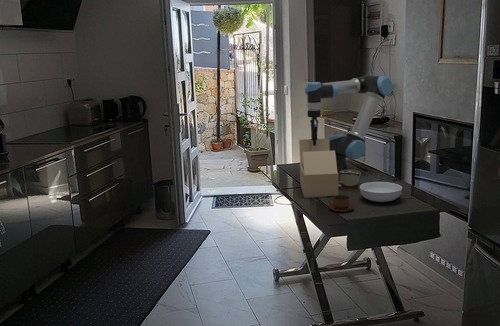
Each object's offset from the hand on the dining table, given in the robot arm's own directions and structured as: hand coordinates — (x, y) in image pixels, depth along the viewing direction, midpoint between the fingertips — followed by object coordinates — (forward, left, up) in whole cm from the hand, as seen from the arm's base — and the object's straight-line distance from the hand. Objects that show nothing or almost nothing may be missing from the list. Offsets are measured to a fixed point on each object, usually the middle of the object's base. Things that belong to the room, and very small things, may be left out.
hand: (314, 150), depth 276 cm
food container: (-18, +14, -19) cm, 30 cm away
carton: (0, +14, -19) cm, 24 cm away
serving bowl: (-29, +36, -19) cm, 51 cm away
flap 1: (0, -1, 0) cm, 2 cm away
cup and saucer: (-8, +49, -20) cm, 53 cm away
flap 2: (0, +24, -2) cm, 24 cm away
